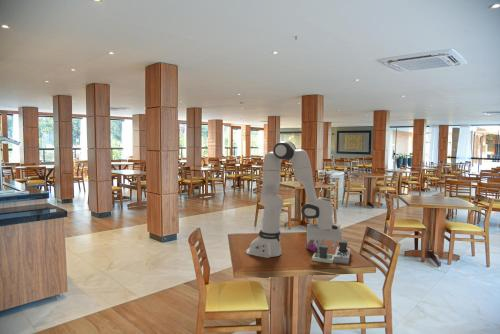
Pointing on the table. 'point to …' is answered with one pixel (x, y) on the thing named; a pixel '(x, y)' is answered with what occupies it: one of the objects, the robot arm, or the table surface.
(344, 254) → the pdu strip
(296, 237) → the table surface
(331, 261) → the plug tray
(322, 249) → the black plug
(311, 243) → the candy bar box
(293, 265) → the table surface
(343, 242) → the seated twin plug
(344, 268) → the table surface
